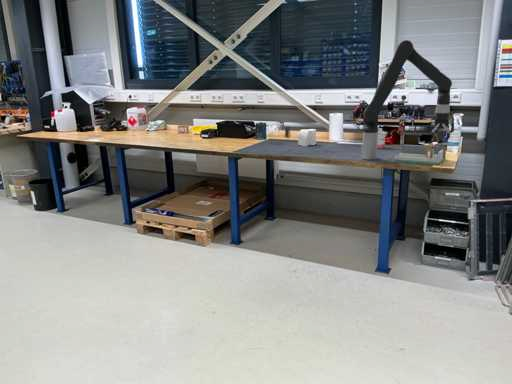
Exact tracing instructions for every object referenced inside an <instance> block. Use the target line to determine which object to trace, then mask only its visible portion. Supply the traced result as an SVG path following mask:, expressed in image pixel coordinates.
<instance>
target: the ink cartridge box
mask: <svg viewBox="0 0 512 384" xmlns="http://www.w3.org/2000/svg"><path fill="white" fill-rule="evenodd" d="M385 142H386V131H383V128H381V127H378V143H377V149H384V148H385V145H386V143H385Z"/></svg>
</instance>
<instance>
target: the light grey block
mask: <svg viewBox="0 0 512 384" xmlns="http://www.w3.org/2000/svg"><path fill="white" fill-rule="evenodd" d="M315 144H316V145H317V129H316V128H308V129H300V130H299V133H298V136H297V145H301V146H300V147H309V146H308V145H314V146H315Z"/></svg>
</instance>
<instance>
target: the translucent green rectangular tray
mask: <svg viewBox="0 0 512 384" xmlns="http://www.w3.org/2000/svg"><path fill="white" fill-rule="evenodd" d="M426 148H427V145H419V144H418V145H416V144H402V145H401V152H399V153H398V155H394V159H393V161H394V162H395V163H404V162H408V163H407V164H416V163H420V164H419V165H428V164H429V166H431V165H432V166H440V165H441V164H442V163H443V162H444V161H445V160H446V154H447V153H446V152H447V146H438V145H436V146H434V147H433V153H432V155H433V154H437V155H438V159H432V158H430V152H428V158H425V156H426Z"/></svg>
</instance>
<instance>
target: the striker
mask: <svg viewBox="0 0 512 384" xmlns="http://www.w3.org/2000/svg"><path fill="white" fill-rule="evenodd" d="M444 135H445V131H444V130H438V131H437V137H436V141H433V142H431V143H429V144H428V145H426V146H427V148H426V156H425V158H428V152H430V158H431V157H432V153H433V147H434V146H451V147H454V146H455V143H454V142H444V137H445V136H444Z"/></svg>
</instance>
